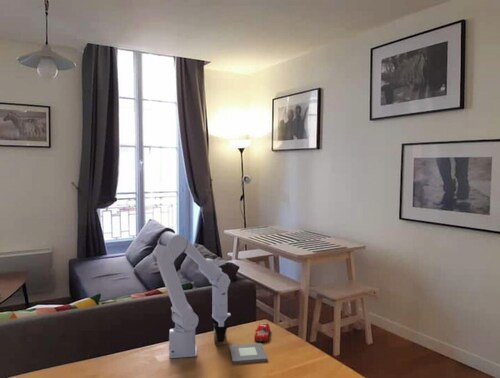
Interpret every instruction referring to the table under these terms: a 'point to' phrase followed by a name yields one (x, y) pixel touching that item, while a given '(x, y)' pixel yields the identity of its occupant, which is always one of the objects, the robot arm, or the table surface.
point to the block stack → (217, 340)
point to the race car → (262, 332)
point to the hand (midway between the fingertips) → (220, 338)
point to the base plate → (247, 353)
